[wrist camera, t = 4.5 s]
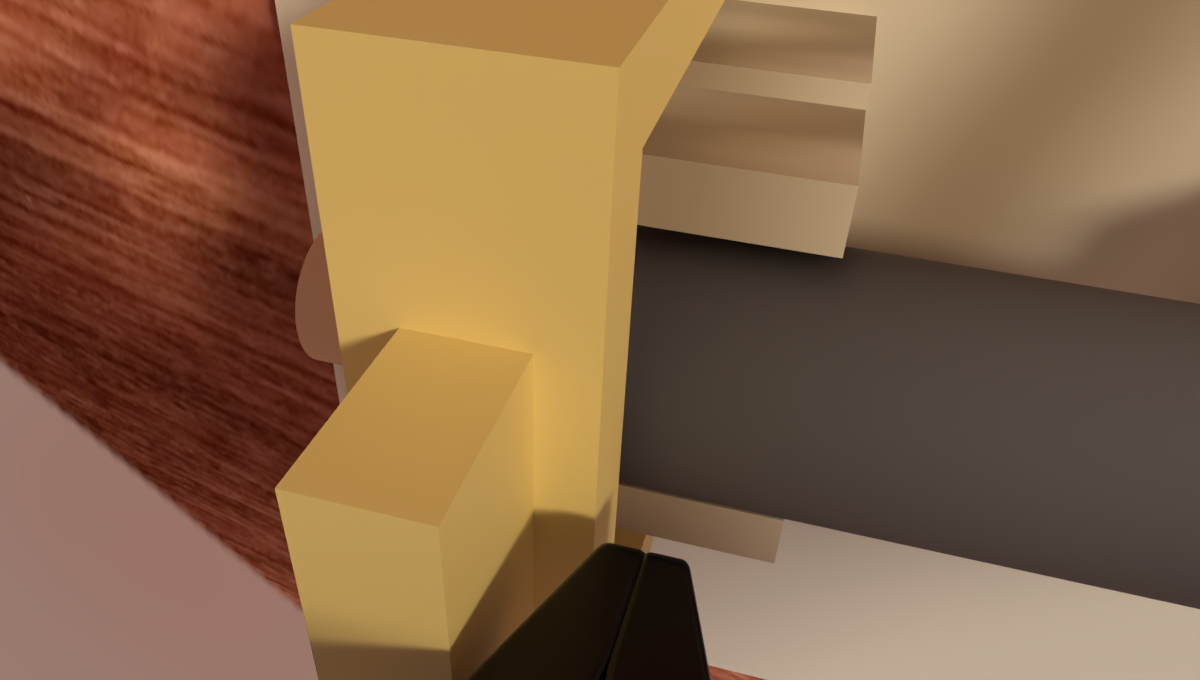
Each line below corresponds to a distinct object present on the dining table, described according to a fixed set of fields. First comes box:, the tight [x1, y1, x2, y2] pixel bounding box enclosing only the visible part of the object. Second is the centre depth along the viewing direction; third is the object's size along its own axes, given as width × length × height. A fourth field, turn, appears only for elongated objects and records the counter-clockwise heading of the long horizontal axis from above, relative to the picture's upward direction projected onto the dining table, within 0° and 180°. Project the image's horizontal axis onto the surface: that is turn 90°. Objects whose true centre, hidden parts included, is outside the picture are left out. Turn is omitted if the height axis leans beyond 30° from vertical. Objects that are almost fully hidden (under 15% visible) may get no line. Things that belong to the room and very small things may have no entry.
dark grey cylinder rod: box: [295, 225, 1200, 609], centre depth 10 cm, size 19×3×3 cm, turn 88°
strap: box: [275, 0, 725, 680], centre depth 11 cm, size 2×9×9 cm, turn 178°
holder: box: [275, 0, 1200, 564], centre depth 12 cm, size 22×12×5 cm, turn 88°
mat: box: [650, 519, 1200, 680], centre depth 19 cm, size 18×6×1 cm, turn 88°
